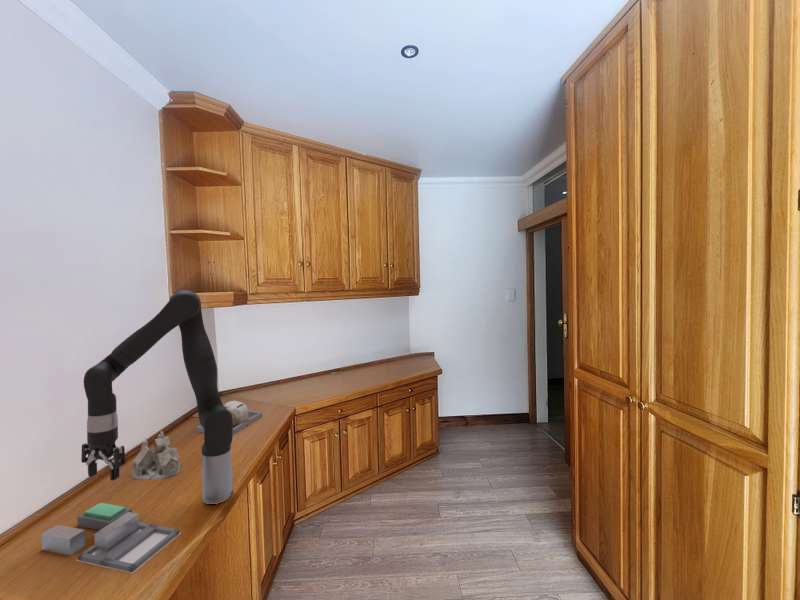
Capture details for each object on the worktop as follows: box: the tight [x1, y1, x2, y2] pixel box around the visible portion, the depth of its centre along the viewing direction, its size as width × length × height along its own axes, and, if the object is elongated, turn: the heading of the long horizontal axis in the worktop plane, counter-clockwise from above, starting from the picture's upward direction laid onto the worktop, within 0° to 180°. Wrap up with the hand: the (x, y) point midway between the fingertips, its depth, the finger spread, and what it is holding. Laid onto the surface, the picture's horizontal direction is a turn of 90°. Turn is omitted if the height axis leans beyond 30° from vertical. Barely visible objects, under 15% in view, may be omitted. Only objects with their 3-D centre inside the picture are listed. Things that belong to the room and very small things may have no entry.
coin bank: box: [223, 400, 250, 428], centre depth 200 cm, size 16×17×13 cm
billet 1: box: [41, 524, 86, 556], centre depth 106 cm, size 4×10×6 cm, turn 78°
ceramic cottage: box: [130, 431, 181, 480], centre depth 150 cm, size 16×16×15 cm
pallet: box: [75, 521, 182, 574], centre depth 107 cm, size 16×19×2 cm
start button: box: [84, 502, 126, 521], centre depth 118 cm, size 5×10×2 cm, turn 77°
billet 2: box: [94, 512, 140, 557], centre depth 108 cm, size 10×4×6 cm, turn 167°
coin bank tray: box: [195, 410, 263, 434], centre depth 201 cm, size 27×20×2 cm
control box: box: [77, 506, 133, 531], centre depth 118 cm, size 7×12×4 cm, turn 77°
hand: (103, 477), depth 117 cm, fingers open, 8 cm apart
